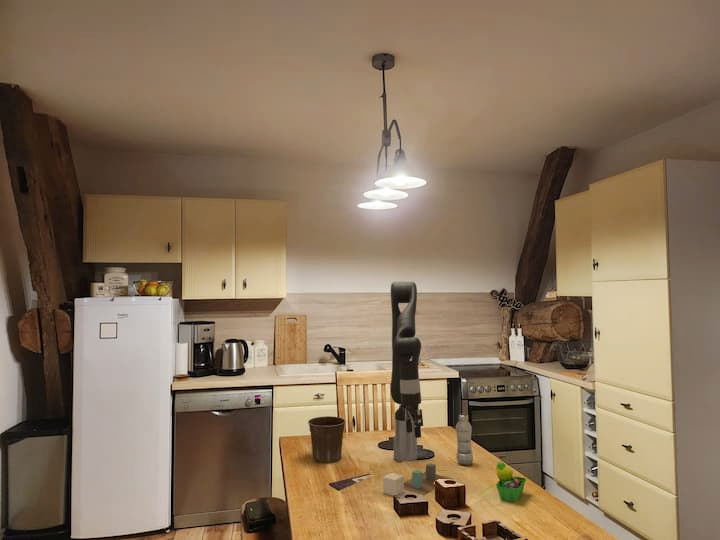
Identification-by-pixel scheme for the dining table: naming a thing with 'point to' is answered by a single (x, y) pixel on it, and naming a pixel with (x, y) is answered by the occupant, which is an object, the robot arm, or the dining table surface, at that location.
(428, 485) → the stand board
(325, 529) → the dining table surface
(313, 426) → the plant pot
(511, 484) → the fruit basket
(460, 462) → the plastic bottle
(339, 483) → the chocolate bar
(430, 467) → the charcoal post
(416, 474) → the teal post
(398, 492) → the cream block
